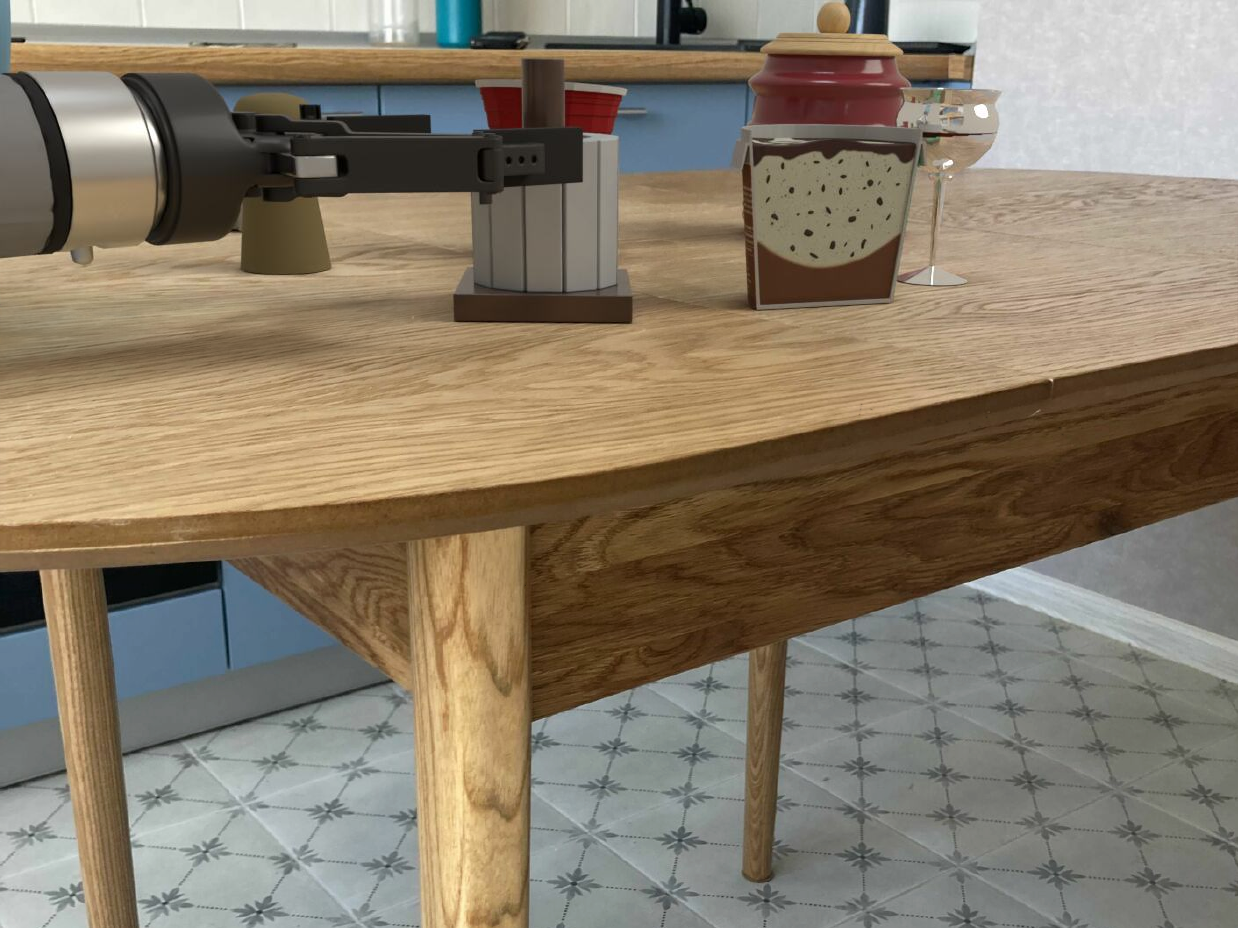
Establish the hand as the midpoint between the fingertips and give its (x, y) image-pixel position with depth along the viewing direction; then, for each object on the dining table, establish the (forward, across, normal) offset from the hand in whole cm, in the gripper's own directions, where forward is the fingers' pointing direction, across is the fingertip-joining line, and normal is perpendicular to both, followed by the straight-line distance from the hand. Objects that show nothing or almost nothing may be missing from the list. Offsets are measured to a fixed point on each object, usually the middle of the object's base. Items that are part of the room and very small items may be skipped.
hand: (499, 146), depth 75 cm
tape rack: (+3, +1, -9) cm, 9 cm away
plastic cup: (+17, -16, -9) cm, 25 cm away
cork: (-2, -22, -9) cm, 24 cm away
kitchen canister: (+42, -12, -9) cm, 45 cm away
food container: (+18, +8, -9) cm, 21 cm away
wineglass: (+30, +8, -9) cm, 33 cm away
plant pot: (+3, +1, -8) cm, 8 cm away
